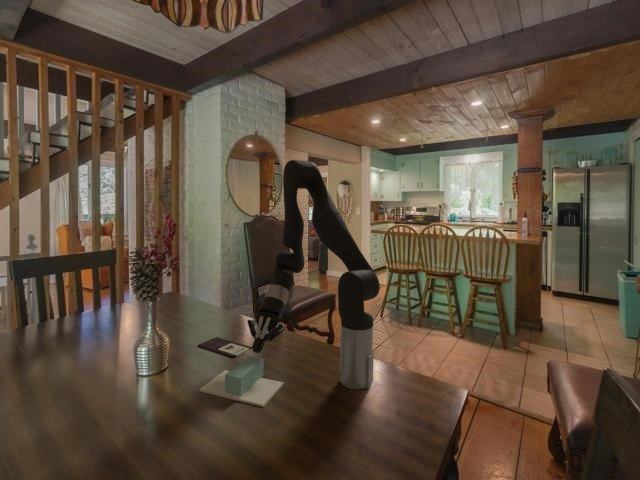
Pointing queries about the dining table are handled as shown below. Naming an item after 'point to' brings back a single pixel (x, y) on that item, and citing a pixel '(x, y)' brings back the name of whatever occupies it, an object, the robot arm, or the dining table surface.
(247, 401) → the cream mat
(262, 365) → the teal block
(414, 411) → the dining table surface
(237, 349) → the chocolate bar
